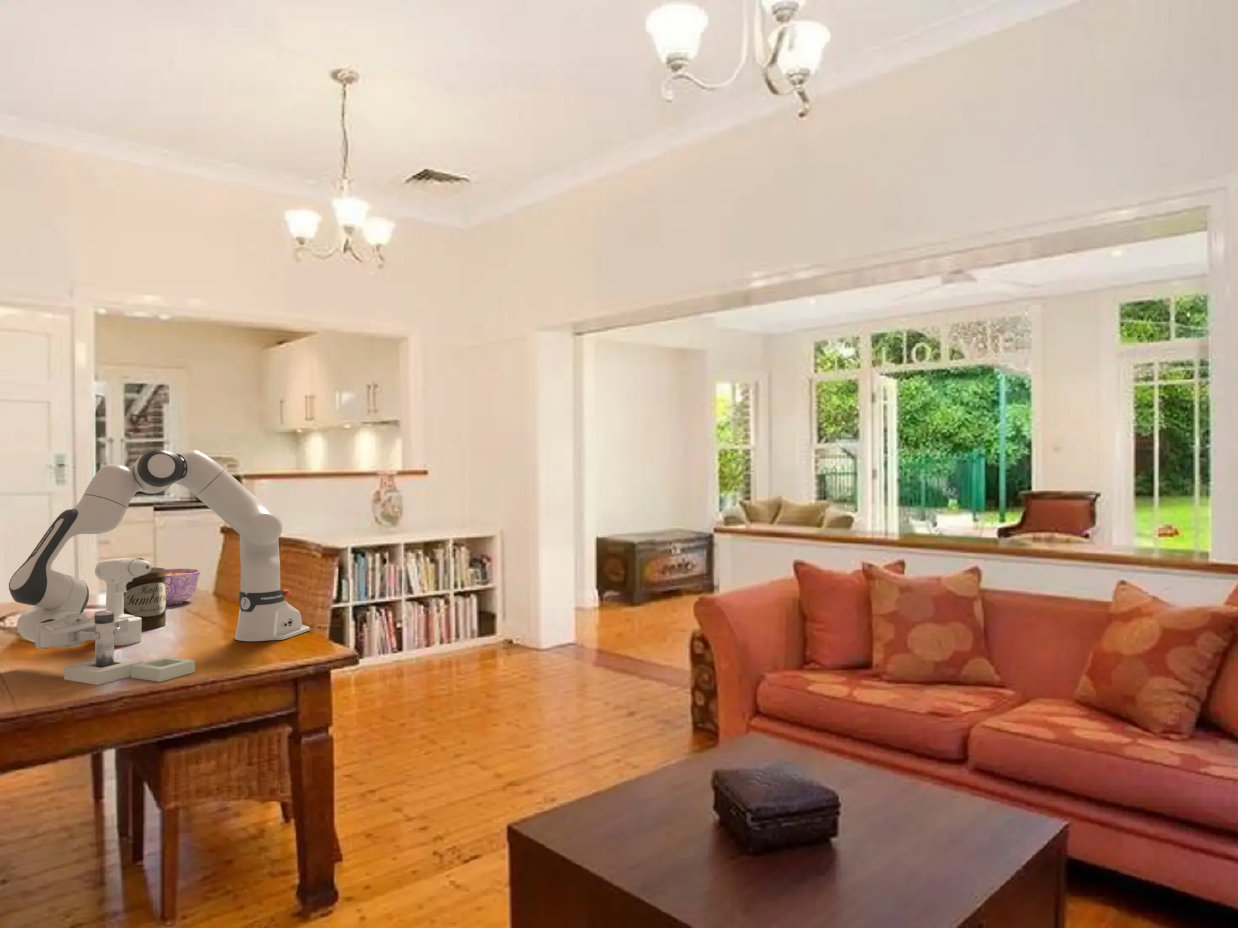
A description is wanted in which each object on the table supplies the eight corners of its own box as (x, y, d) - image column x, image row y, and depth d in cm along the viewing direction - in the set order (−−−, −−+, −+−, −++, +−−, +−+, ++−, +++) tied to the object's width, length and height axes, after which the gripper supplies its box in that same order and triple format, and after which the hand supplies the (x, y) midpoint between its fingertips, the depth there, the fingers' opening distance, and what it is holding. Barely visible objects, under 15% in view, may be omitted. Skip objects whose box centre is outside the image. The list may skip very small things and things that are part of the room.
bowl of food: (157, 610, 300) (157, 577, 300) (128, 604, 311) (128, 572, 311) (211, 602, 317) (211, 571, 317) (181, 596, 328) (181, 567, 328)
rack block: (166, 668, 219) (166, 656, 219) (194, 672, 215) (194, 660, 215) (131, 677, 210) (131, 665, 210) (160, 681, 206) (159, 669, 206)
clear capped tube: (107, 664, 214) (106, 609, 214) (118, 666, 212) (118, 610, 212) (91, 668, 210) (90, 612, 210) (102, 670, 209) (102, 613, 208)
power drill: (132, 650, 238) (132, 561, 238) (87, 640, 251) (87, 556, 251) (162, 644, 246) (162, 558, 245) (117, 635, 258) (117, 553, 258)
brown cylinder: (129, 633, 261) (129, 562, 261) (102, 628, 269) (102, 558, 269) (175, 625, 274) (175, 557, 274) (148, 620, 282) (148, 554, 282)
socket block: (110, 668, 219) (110, 656, 219) (143, 673, 214) (143, 661, 214) (64, 679, 208) (64, 667, 208) (97, 684, 203) (97, 672, 203)
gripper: (108, 633, 226) (144, 637, 220) (29, 650, 207) (67, 655, 202) (108, 609, 226) (144, 613, 220) (28, 624, 207) (66, 629, 201)
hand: (107, 633), depth 211 cm, fingers closed on clear capped tube, 4 cm apart
